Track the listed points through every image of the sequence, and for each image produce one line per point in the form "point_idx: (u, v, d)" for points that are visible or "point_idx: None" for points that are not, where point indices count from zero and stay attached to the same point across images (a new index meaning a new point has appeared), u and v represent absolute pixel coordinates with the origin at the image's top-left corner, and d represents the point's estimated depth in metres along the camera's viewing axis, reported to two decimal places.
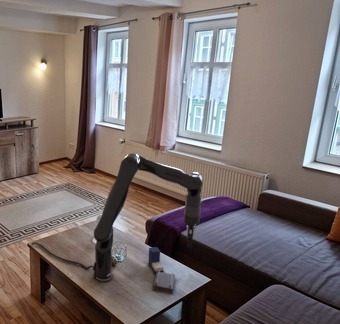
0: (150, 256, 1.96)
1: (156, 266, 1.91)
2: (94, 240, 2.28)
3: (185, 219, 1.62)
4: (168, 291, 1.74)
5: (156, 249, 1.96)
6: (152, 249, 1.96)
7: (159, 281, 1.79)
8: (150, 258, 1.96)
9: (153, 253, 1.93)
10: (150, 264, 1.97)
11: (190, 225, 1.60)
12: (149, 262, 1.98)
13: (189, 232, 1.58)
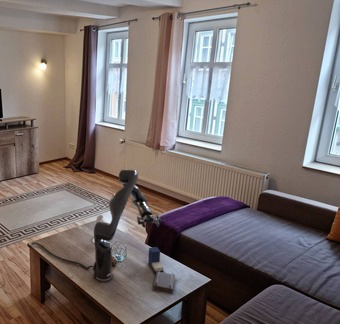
0: (150, 256, 1.96)
1: (156, 266, 1.91)
2: None
3: (149, 210, 2.12)
4: (168, 291, 1.74)
5: (156, 249, 1.96)
6: (152, 249, 1.96)
7: (159, 281, 1.79)
8: (150, 258, 1.96)
9: (153, 253, 1.93)
10: (150, 264, 1.97)
11: None
12: (149, 262, 1.98)
13: None
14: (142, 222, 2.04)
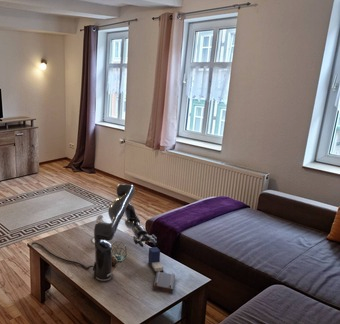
0: (150, 256, 1.96)
1: (156, 266, 1.91)
2: (94, 240, 2.28)
3: (145, 230, 2.17)
4: (168, 291, 1.74)
5: (156, 249, 1.96)
6: (152, 249, 1.96)
7: (159, 281, 1.79)
8: (150, 258, 1.96)
9: (153, 253, 1.93)
10: (150, 264, 1.97)
11: None
12: (149, 262, 1.98)
13: None
14: (139, 241, 2.07)
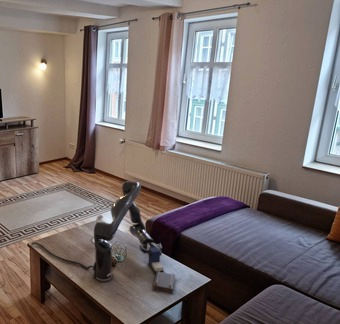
0: None
1: (156, 266, 1.91)
2: None
3: (151, 238, 2.07)
4: (168, 291, 1.74)
5: (156, 249, 1.95)
6: (152, 249, 1.96)
7: (159, 281, 1.79)
8: (150, 258, 1.96)
9: (153, 253, 1.93)
10: (150, 264, 1.97)
11: None
12: (149, 262, 1.98)
13: None
14: (148, 251, 1.96)
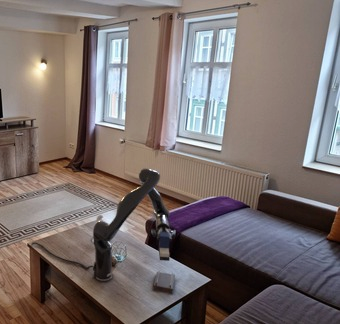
0: (159, 241, 1.84)
1: (162, 251, 1.78)
2: None
3: (167, 223, 1.93)
4: (168, 291, 1.74)
5: (166, 234, 1.82)
6: (162, 234, 1.83)
7: (159, 281, 1.79)
8: (159, 243, 1.84)
9: (161, 238, 1.81)
10: None
11: (169, 229, 1.91)
12: None
13: (175, 232, 1.88)
14: (158, 235, 1.84)
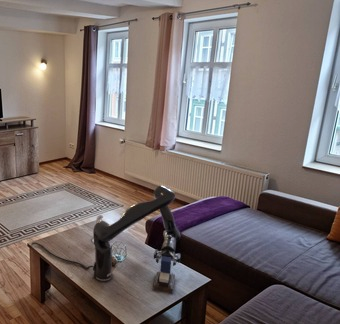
0: None
1: (161, 276, 1.77)
2: None
3: (172, 246, 1.90)
4: (168, 291, 1.74)
5: (168, 259, 1.80)
6: (164, 258, 1.81)
7: None
8: None
9: (162, 262, 1.79)
10: None
11: (174, 253, 1.88)
12: None
13: None
14: (157, 256, 1.84)
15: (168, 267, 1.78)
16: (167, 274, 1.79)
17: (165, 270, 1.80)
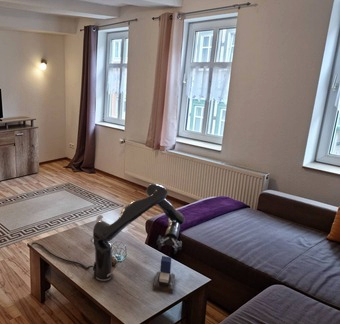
0: None
1: (161, 276, 1.77)
2: None
3: (175, 233, 1.99)
4: (168, 291, 1.74)
5: (168, 259, 1.80)
6: (164, 258, 1.81)
7: None
8: None
9: (162, 262, 1.79)
10: None
11: None
12: None
13: (181, 243, 1.95)
14: (160, 243, 1.95)
15: (168, 267, 1.78)
16: (167, 274, 1.79)
17: (165, 270, 1.80)
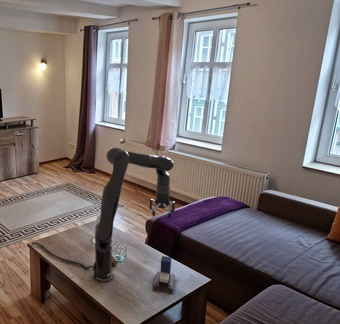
0: None
1: (161, 276, 1.77)
2: (94, 240, 2.28)
3: (166, 197, 1.86)
4: (168, 291, 1.74)
5: (168, 259, 1.80)
6: (164, 258, 1.81)
7: None
8: None
9: (162, 262, 1.79)
10: None
11: None
12: None
13: (174, 204, 1.88)
14: (153, 210, 1.93)
15: (168, 267, 1.78)
16: (167, 274, 1.79)
17: (165, 270, 1.80)
